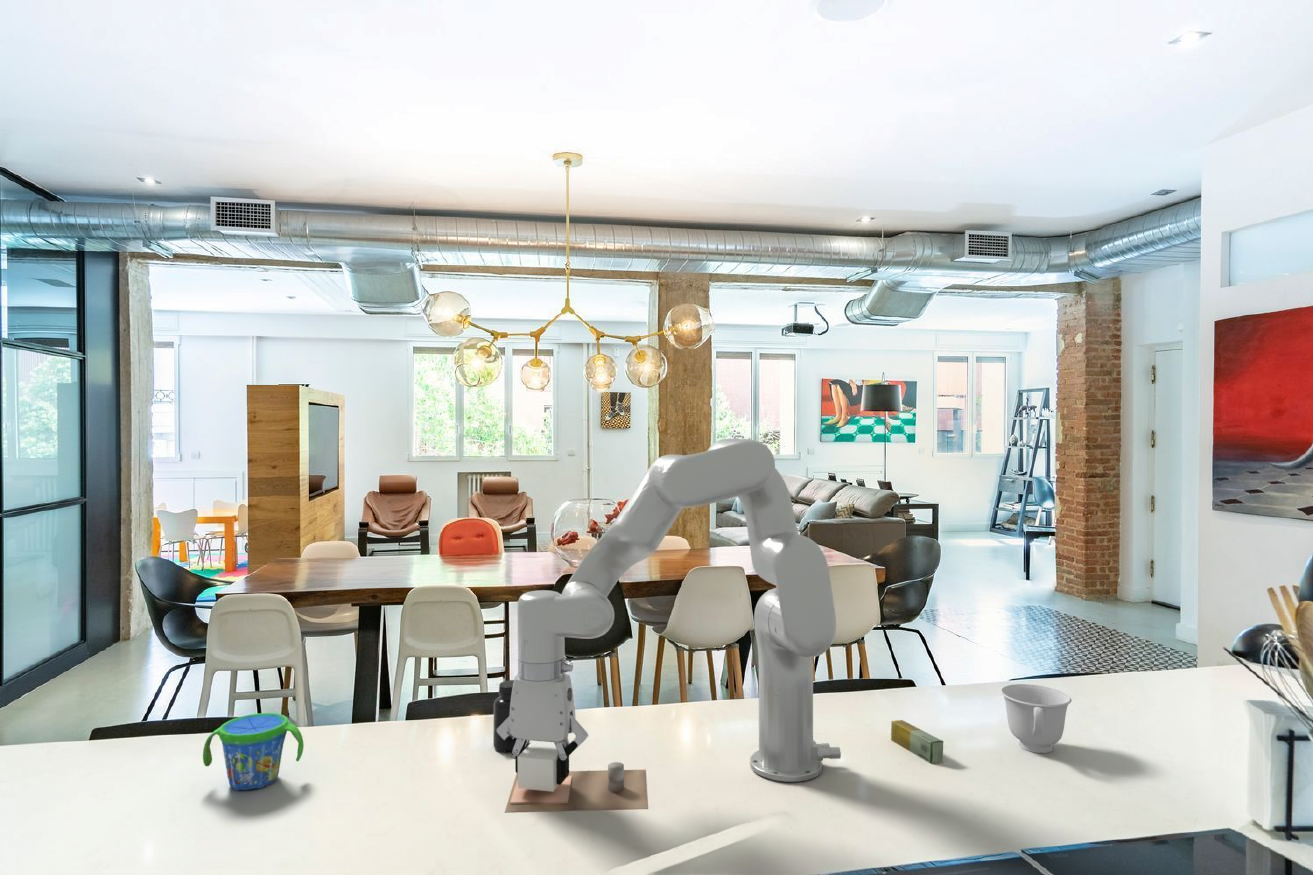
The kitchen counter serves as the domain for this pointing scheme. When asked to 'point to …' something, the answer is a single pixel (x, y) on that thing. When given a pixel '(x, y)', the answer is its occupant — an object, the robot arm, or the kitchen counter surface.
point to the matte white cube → (538, 767)
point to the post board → (586, 792)
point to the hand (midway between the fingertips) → (542, 777)
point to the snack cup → (253, 748)
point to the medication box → (917, 741)
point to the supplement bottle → (502, 714)
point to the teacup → (1035, 715)
